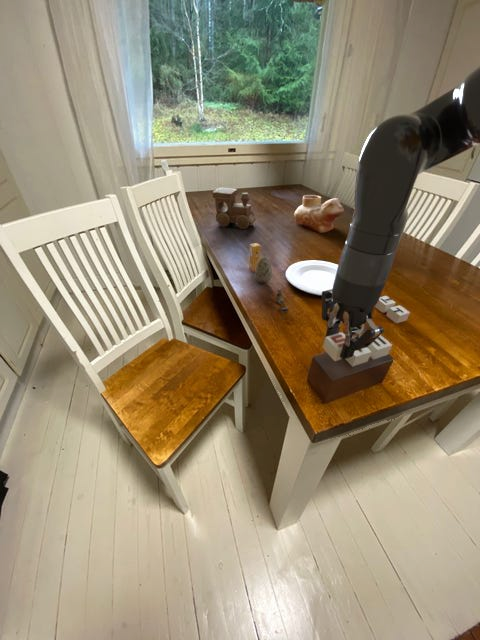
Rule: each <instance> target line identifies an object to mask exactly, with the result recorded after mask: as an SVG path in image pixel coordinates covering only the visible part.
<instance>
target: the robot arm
mask: <svg viewBox="0 0 480 640" xmlns="http://www.w3.org/2000/svg"><path fill="white" fill-rule="evenodd" d="M479 145H480V65H479V66H477V67H476V68H475V69H473V70H472V71H470V73H469V74H468V75H466V77H465V78H464V79H463V80H462V81H461V83H459V84H458V85H456V86H455V87H453V88H451V89H450V90H448V91H447V92H445V93H443V94H442V95H440V96H438V97H437V98H435V99H434V100H431V101H430V102H429V103H427V104H425V105H424V106H422V107H420V108H418V109H416V110H414V111H413V112H411V113H407V114H406V113H405V114H396V115H393V116H391V117H388V118H386V119H384V120H383V121H382V122H380V123H379V124H377V126H375V128H374V129H373V130H372V131H371V132H370V134H369V135H368V137H367V139H366V140H365V143H364V144H363V147H362V149H361V153H360V155H359V159H358V163H357V167H356V176H355V187H354V189H355V190H354V200H353V201H354V202H353V205H354V208H353V209H354V210H353V214H352V218H351V221H350V225H349V229H348V233H347V237H346V240H345V244H344V245H343V249H342V251H341V253H340V257H339V261H338V264H337V265H338V268H337V272H336V276H335V280H334V284H333V288H332V289H330V290H326V291H323V292H322V296H321V319H322V320H323V321H326V327H327V329H326V333H325V337H327V336H331V335H334V334H337V333H340V330H341V327H340V326H341V325H342V324H343V329H342V332H343V333H344V334H345V343H344V344H343V347H342V351H341V354H340V357H341V358H342V359H347V358H350V357H352V356H353V355H354V352H355V351H357V350H360V349H363V348H366V347H368V346H369V345H370V344H371V343H372V342H374V341H375V340H376V339H377V338H378V337H379V336H380V335H381V336H382V334H383V333H384V331H385V330H384V327H383V326H381V325H379V326H377V325H376V323H375V322H374V321H373V310H374V308H375V305H376V304H377V303H378V301H379V298H380V297H382V293H383V291H384V288H385V286H386V283H387V280H388V277H389V275H390V273H391V270H392V267H393V265H394V261H395V256H396V252H397V249H398V247H399V245H400V241H401V239H402V236H403V233H404V231H405V228H406V225H407V222H408V218H409V212H408V208H407V207H408V204H409V201H410V198H411V194H412V192H413V189H414V186H415V183H416V181H417V178H418V177H419V175H420V174H422V173H424V172H427V171H428V170H430V169H432V168H434V167H436V166H438V165H440V164H442V163H444V162H446V161H448V160H451V159H452V158H454V157H456V156H459V155H460V154H463V153H464V152H467V151H468V150H470V149H473V148H474V147H476V146H479Z"/></svg>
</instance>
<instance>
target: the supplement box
mask: <svg viewBox="0 0 480 640" xmlns="http://www.w3.org/2000/svg"><path fill="white" fill-rule="evenodd" d="M248 245H249V246H248V247H249V251H248V252H249V258H248V259H249V263H248V265H249V270H250V271H251V272H252V273H254V272H255V269H256V266H257V263H258V261H259V260H260V259H261V249H262V248H261V247H262V245H261V244H259V243H258V242H255V243H250V244H248Z"/></svg>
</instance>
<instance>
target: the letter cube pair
mask: <svg viewBox="0 0 480 640" xmlns="http://www.w3.org/2000/svg"><path fill="white" fill-rule="evenodd" d="M396 303H397V302H396V301H394V300H393V298H391V297H389V296H387V295H383V296H380V298H379V301H378V303H377V304H376V305H375V307H374V308H375V309H377V310H378V312H381V314H383V313H386V317H387V318H388V319H390V321H392V322H393V323H394V324H399V323H402V322H406V321H407V320H408V318H409V316H410V314H411V312H410V311H409V310H407V309H406V308H405V307H403V306H402V305H400V304H399V305H396Z"/></svg>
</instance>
